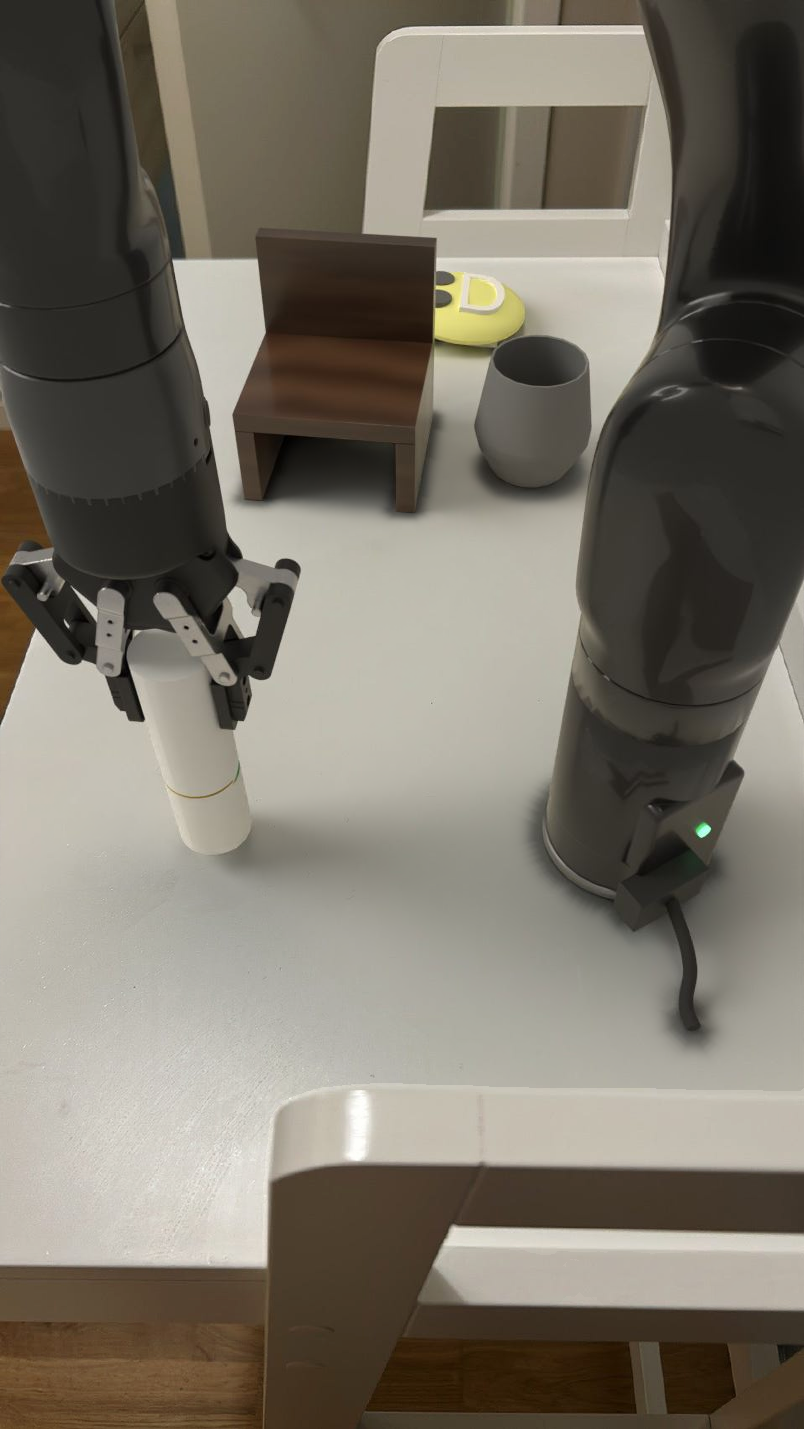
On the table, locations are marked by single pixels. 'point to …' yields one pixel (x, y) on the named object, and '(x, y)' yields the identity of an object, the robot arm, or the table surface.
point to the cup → (534, 409)
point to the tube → (190, 743)
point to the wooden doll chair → (341, 350)
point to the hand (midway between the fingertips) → (187, 712)
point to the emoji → (475, 309)
